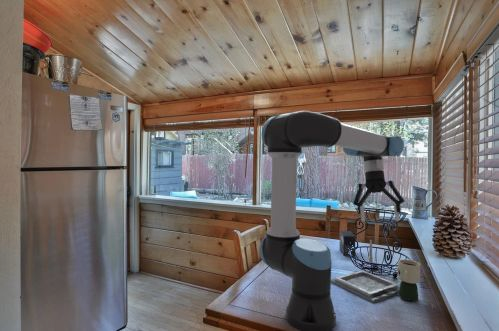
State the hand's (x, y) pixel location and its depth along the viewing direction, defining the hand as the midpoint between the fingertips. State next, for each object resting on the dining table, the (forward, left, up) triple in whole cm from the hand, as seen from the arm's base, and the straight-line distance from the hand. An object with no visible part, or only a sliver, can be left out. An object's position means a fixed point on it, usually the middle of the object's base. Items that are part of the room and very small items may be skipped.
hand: (379, 221), depth 124 cm
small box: (+15, +30, -24) cm, 41 cm away
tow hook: (+9, +12, -24) cm, 28 cm away
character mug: (-7, -17, -24) cm, 30 cm away
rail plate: (-12, -3, -24) cm, 27 cm away
